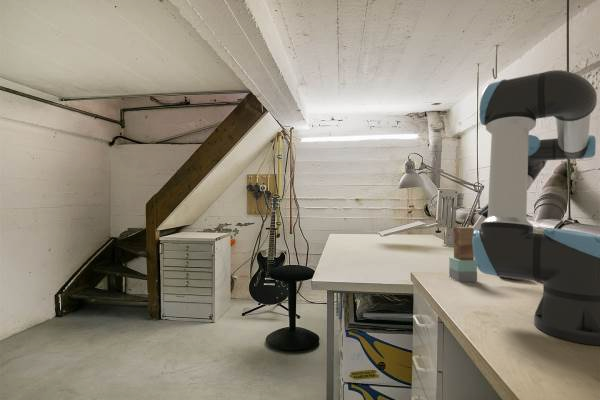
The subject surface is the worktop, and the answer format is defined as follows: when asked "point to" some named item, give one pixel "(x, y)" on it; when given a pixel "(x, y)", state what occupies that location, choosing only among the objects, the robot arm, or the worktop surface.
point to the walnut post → (463, 243)
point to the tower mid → (462, 264)
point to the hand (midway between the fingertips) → (486, 231)
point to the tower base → (463, 275)
